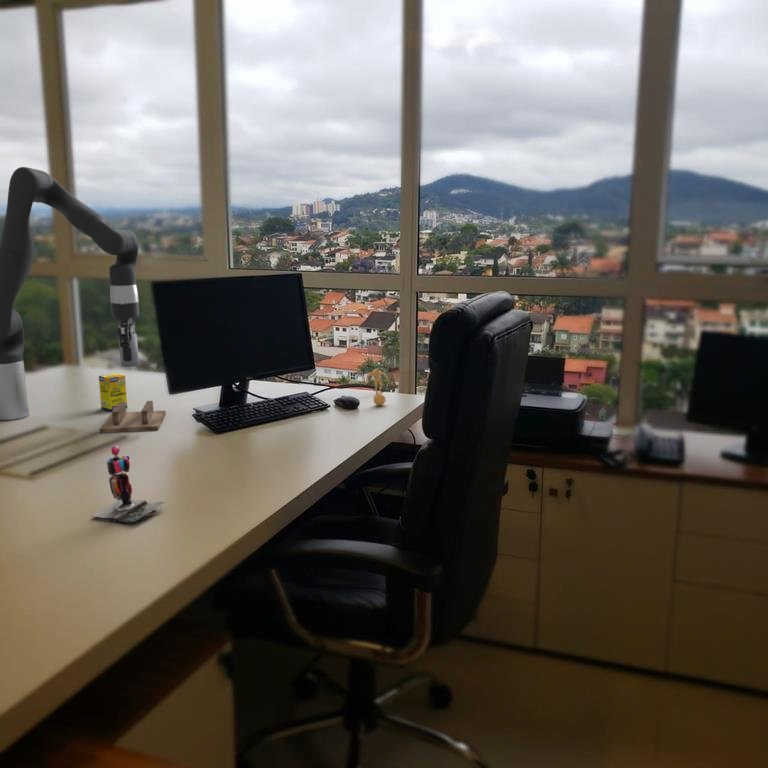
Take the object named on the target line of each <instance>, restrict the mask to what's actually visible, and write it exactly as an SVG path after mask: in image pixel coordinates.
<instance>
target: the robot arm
mask: <svg viewBox="0 0 768 768" xmlns="http://www.w3.org/2000/svg"><path fill="white" fill-rule="evenodd" d="M33 203H38V204H39V203H40V204H44V205H47V206H49V207H51V208H53V209H55V210H57V211H59V213H61V214H62V215H63V216H64V217H65V218H66V220H67V221H68V222H69V224H71V225H72V226H73V227H74V228H75V229H77V230H78V231H80V232H81V233H83V234H85V236H87V237H89V238H91V239H92V241H93V242H94V243H95V244H96V245H97V246H98V247H99V248H100V250H102V251H103V252H104V253H106V254H108V255H112V256H116V261H115V262H114V264H111V265H110V266H109V284H110V291H109V294H110V295H109V297H110V310H111V317H112V318H113V319H119V321H120V322H119V324H118V328H117V331H118V335H119V336H118V341H119V340H120V347H122V348H123V360H124V361H131V360H132V354H131V340H133V334H136V322H135V320H134V321H133V319H135V318H139V317H140V314H141V313H140V301H139V291H138V286H137V278H136V277H137V276H136V266H137V263H138V257H139V256H138V255H139V251H140V250H139V249H140V247H139V246H140V245H139V241H138V238H137V235H136V234H135V233H134V231H132V230H131V229H115V228H112V227H111V226H110V225H111V224H110V222H109V220H108V219H107V218H106V217H104V216H103V215H102V214H100V213H99V212H97V211H96V210H94V209H92V208H91V207H90V206H88V205H87V204H85V203H84V202H82V201H80V200H79V199H78V198H77V197H75V196H73V195H72V194H71V193H70V192H69V191H67V189H66V188H64V187H63V186H62V185H61V184H60V183H59V182H58V181H57V180H56V179H55V178H54V177H53V176H52V175H50V174H49V173H48V172H46V171H43V170H40V169H36V168H31V167H27V166H20V167H18V168H16V169H15V170H14V171H13V172H12V174H11V177H10V179H9V185H8V193H7V204H6V212H5V219H4V221H3V222H4V223H3V228H2V233H1V238H0V420H1V421H13V420H18V419H24V418H27V417H28V416H30V410H29V409H30V408H29V401H28V400H29V399H28V390H27V389H28V388H27V382H26V374H25V373H26V371H25V363H24V352H25V333H24V331H25V330H24V324H23V319H22V317H21V315H20V313H19V312H18V311H17V310H15V309H14V306H15V302H16V298H17V297H18V293H20V291H21V288H22V287H23V285H24V283H25V282H26V281H27V278H28V277H29V273H30V272H31V269H32V264H33V260H34V255H35V248H36V247H35V241H34V240H35V239H34V237H33V233H32V230H31V225H30V221H31V220H30V218H31V212H32V207H33ZM129 336H130V337H129ZM124 340H127V343H124Z"/></svg>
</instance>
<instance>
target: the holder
mask: <svg viewBox="0 0 768 768" xmlns="http://www.w3.org/2000/svg"><path fill="white" fill-rule="evenodd" d="M166 412H167V411H166V410H154V401H153V400H147V401H146V402H145V404H144V405H143V407H142V409H141V411H127V408H126V405H125V402H119V404H118V405H117V406H116V408H115V409H114V410H113V411H112V412H111V413H110V414H109V415H108V417H107V418H106V420H104V422H103V423H102V425H101V426H100V427H99V433H100V434H102V433H104V434H105V433H123V432H124V433H125V432H144V431H145V432H147V431H149V432H150V431H159V430H160V428H161V425H162V423H163V421H164V419H165V416H166V415H167V413H166Z"/></svg>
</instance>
